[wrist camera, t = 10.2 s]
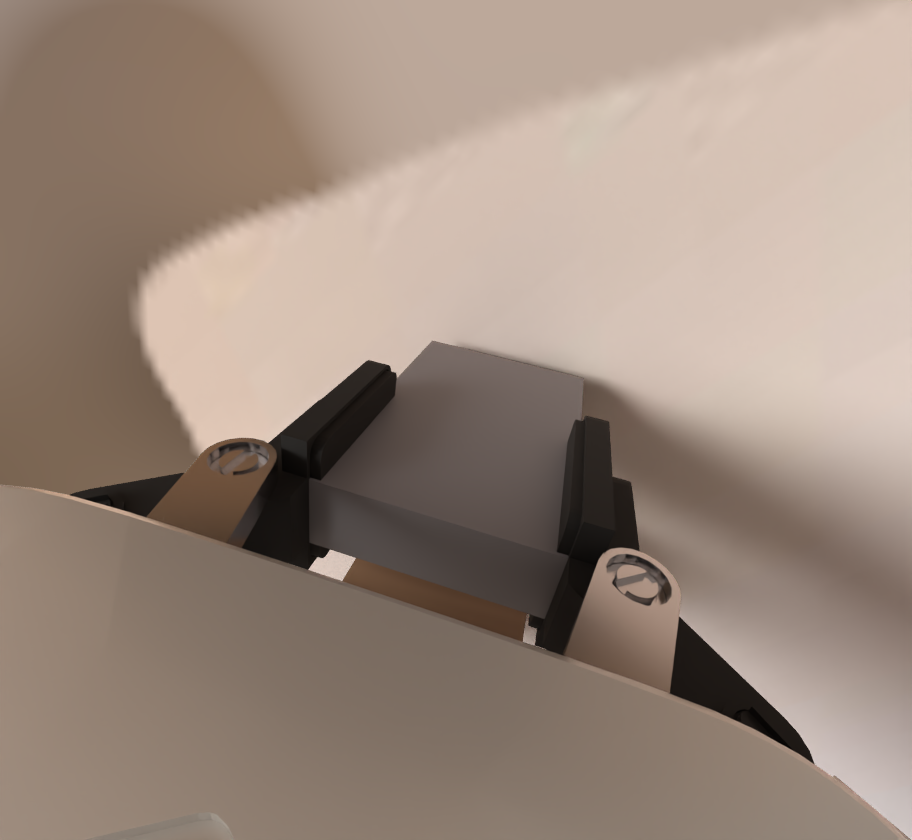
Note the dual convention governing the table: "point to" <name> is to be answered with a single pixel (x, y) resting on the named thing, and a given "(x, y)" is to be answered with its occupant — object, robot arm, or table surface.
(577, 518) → the robot arm
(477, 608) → the domino
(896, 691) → the table surface
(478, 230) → the table surface
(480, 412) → the domino
